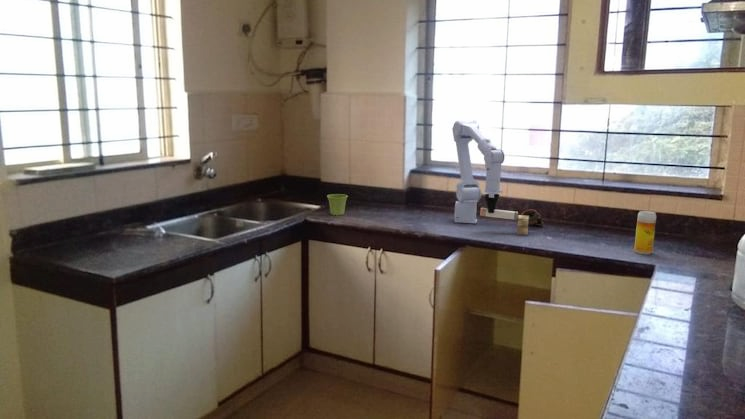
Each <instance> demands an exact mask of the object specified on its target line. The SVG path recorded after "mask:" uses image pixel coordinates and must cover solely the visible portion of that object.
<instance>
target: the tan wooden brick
mask: <svg viewBox="0 0 745 419" xmlns="http://www.w3.org/2000/svg"><path fill="white" fill-rule="evenodd" d="M528 220H529V218H528V216H525V215H521V214H518V217H517V230H516V231H517V232H516V233H517V235H527V236H528V234H529V233H528V230H529V224H528Z"/></svg>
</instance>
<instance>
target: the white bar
mask: <svg viewBox="0 0 745 419" xmlns="http://www.w3.org/2000/svg"><path fill="white" fill-rule="evenodd" d="M518 215H519V212H518V211H513V210H505V209H504V210H503V209H495V210H494V213H488V207H481V208H480V213H479V216H480V217H489V218H496V219H497V218H498V219H506V220H515V221H518Z"/></svg>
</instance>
